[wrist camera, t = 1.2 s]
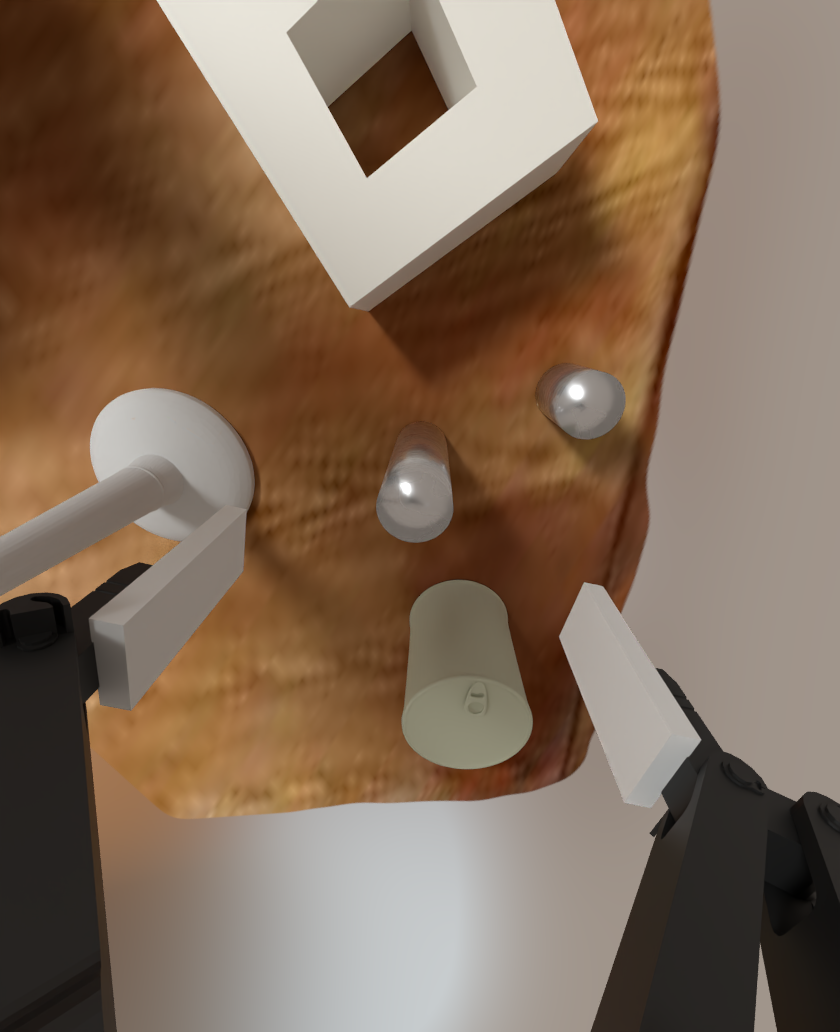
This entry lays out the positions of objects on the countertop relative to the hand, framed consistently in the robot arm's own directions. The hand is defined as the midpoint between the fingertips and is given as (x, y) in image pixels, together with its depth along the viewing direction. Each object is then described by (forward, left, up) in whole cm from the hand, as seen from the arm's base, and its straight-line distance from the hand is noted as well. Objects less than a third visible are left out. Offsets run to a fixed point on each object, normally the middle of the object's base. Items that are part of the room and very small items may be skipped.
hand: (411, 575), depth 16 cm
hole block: (-17, +9, -18) cm, 27 cm away
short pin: (+2, +11, -18) cm, 21 cm away
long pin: (0, 0, -18) cm, 18 cm away
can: (+16, -6, -18) cm, 25 cm away
